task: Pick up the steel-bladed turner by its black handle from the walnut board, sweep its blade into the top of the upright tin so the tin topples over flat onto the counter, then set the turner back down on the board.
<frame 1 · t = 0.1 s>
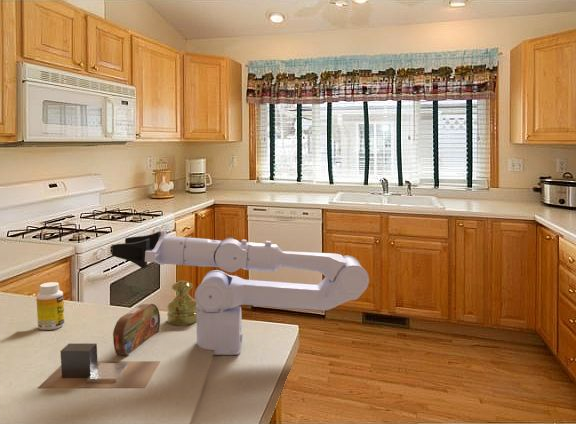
hand: (119, 246, 93), 22 cm above the counter, tool horizontal, fingers open, 7 cm apart
board: (103, 380, 82), on the counter
salt shaker: (183, 321, 112), on the counter
tin: (138, 349, 96), on the counter
turner: (80, 373, 82), point 1 cm above the counter, touching board
supplement bottle: (51, 327, 107), on the counter
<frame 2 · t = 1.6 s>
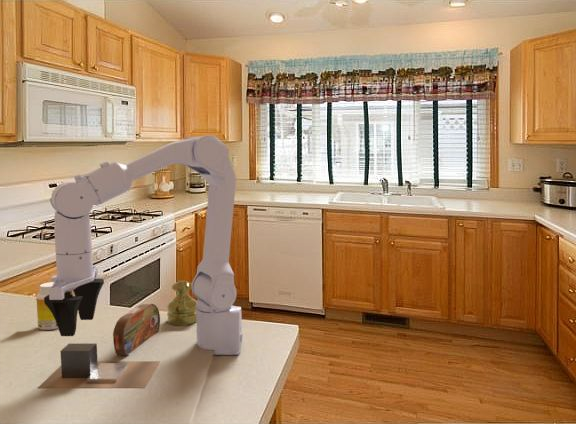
hand: (77, 327, 81), 10 cm above the counter, tool pointing down, fingers open, 7 cm apart
nothing on the counter moved.
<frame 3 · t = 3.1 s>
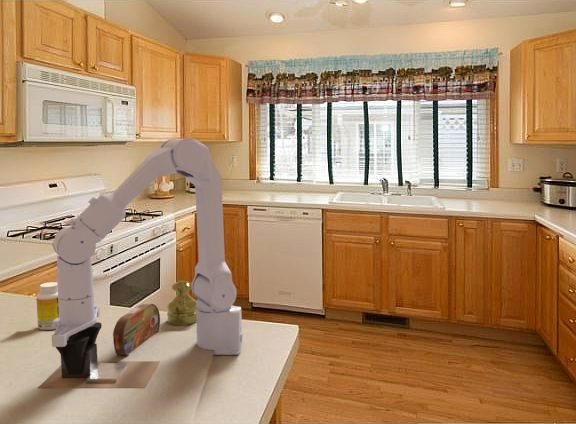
hand: (80, 369, 81), 2 cm above the counter, tool pointing down, fingers closed on turner, 3 cm apart
turner: (80, 373, 82), point 1 cm above the counter, touching board, gripper
everything else where it was.
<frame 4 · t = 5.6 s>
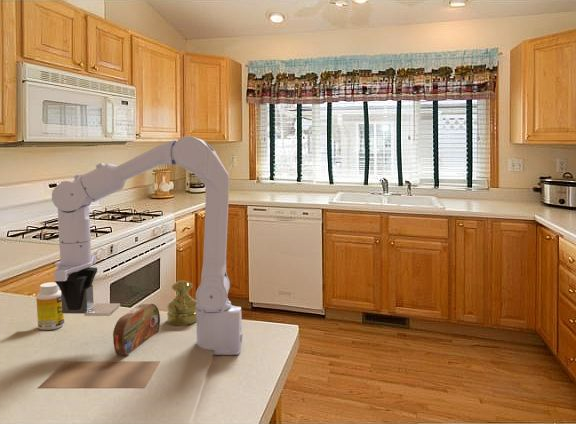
hand: (78, 306, 93), 9 cm above the counter, tool pointing down, fingers closed on turner, 3 cm apart
turner: (78, 310, 93), point 8 cm above the counter, touching gripper
everything else where it was.
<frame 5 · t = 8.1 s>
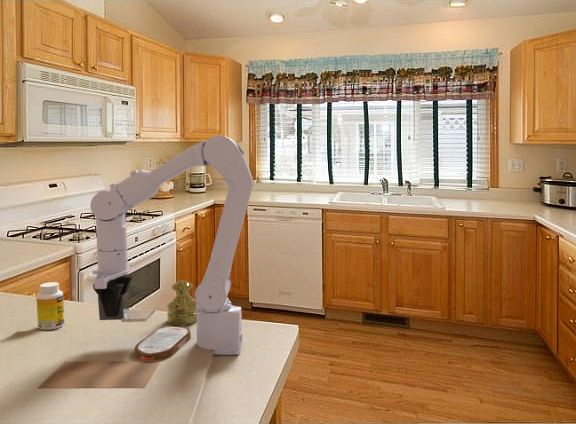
hand: (114, 312, 95), 8 cm above the counter, tool pointing down, fingers closed on turner, 3 cm apart
tin: (144, 340, 95), point 2 cm above the counter
turner: (114, 317, 95), point 7 cm above the counter, touching gripper
everything else where it was.
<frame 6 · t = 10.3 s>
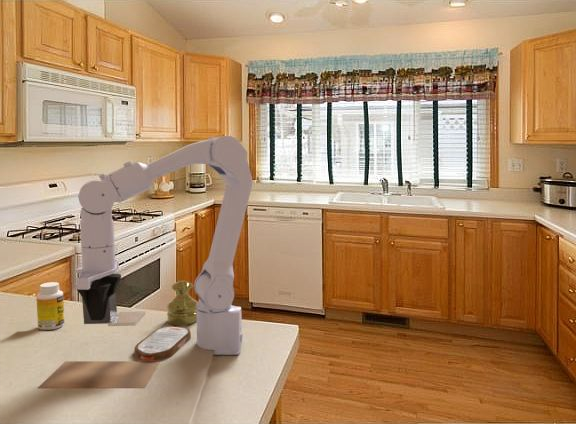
hand: (101, 316, 86), 10 cm above the counter, tool pointing down, fingers closed on turner, 3 cm apart
turner: (101, 320, 86), point 9 cm above the counter, touching gripper
everything else where it was.
when the fingers open (3 cm above the counter, at t = 12.4 s): turner drops 1 cm, resting on board.
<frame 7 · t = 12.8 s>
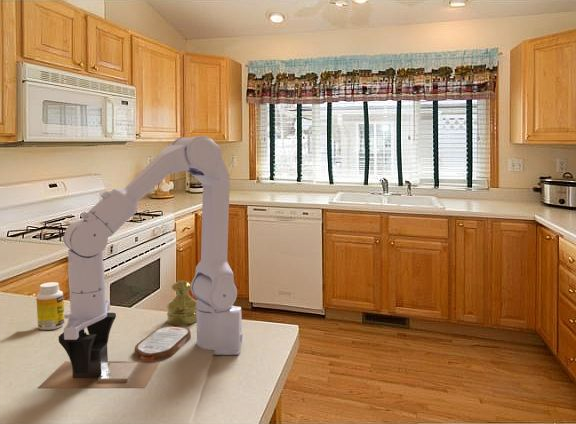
hand: (90, 362, 81), 3 cm above the counter, tool pointing down, fingers open, 7 cm apart
turner: (90, 373, 82), point 1 cm above the counter, touching board
everything else where it was.
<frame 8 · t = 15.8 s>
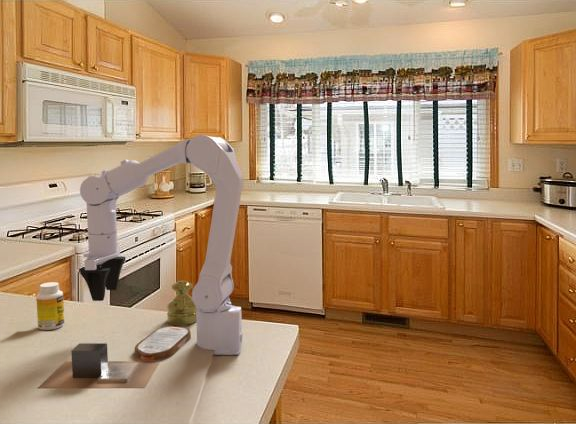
hand: (105, 294, 98), 10 cm above the counter, tool pointing down, fingers open, 7 cm apart
nothing on the counter moved.
at the end: tin tilted 94°; turner inside the target area on the board (2.1 cm from its centre), point 1.2 cm above the board's base; the gripper is holding nothing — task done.
